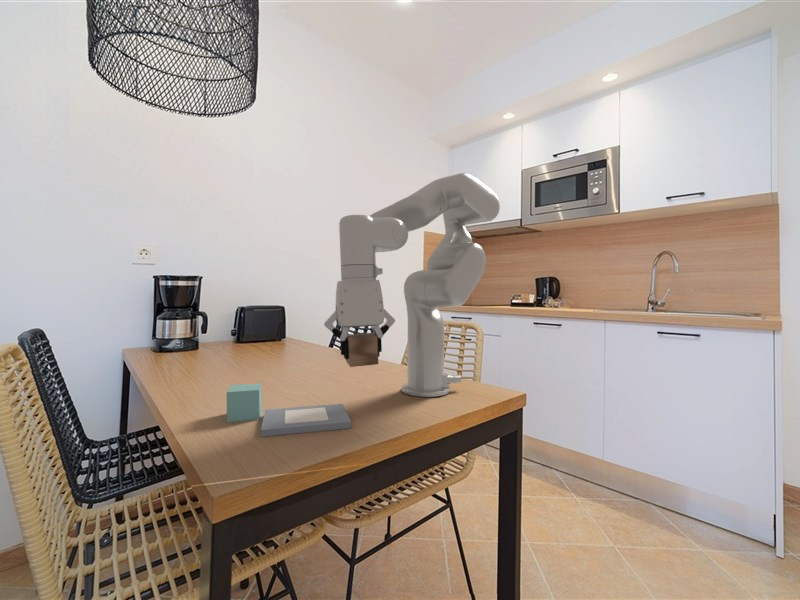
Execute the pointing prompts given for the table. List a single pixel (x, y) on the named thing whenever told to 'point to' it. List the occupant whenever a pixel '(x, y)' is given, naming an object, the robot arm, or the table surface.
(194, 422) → the table surface
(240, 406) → the teal block
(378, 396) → the table surface
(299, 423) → the board
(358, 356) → the walnut block
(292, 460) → the table surface
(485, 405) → the table surface
